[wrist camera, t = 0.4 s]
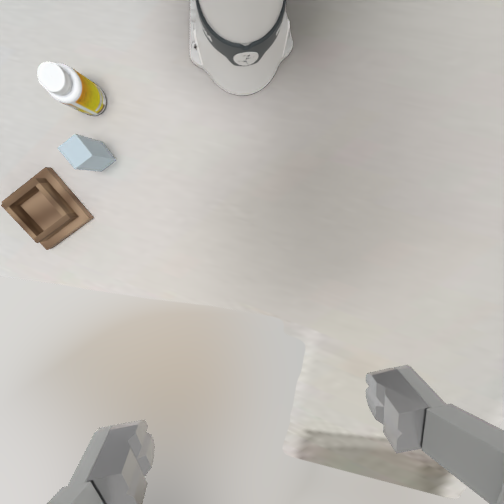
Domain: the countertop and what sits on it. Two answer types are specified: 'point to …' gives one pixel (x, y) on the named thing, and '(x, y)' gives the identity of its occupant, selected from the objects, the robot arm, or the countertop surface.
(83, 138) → the block
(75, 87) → the supplement bottle
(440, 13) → the countertop surface
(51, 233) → the board
